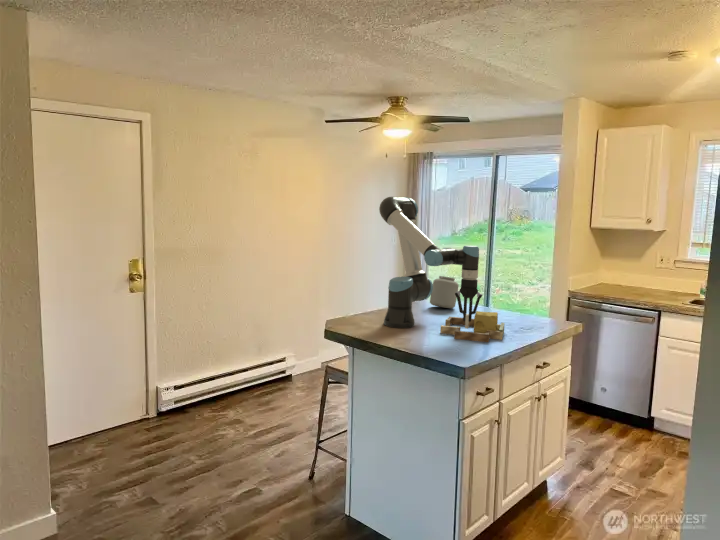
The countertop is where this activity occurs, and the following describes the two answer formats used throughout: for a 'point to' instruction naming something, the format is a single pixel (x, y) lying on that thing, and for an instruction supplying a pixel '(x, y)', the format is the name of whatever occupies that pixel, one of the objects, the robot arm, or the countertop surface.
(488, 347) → the countertop surface
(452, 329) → the trap lane
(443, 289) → the jar
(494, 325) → the cheese
